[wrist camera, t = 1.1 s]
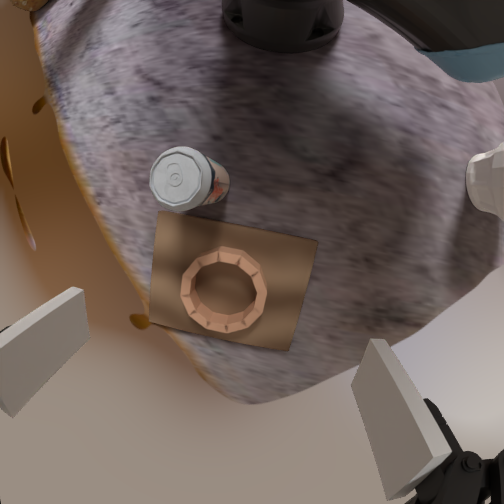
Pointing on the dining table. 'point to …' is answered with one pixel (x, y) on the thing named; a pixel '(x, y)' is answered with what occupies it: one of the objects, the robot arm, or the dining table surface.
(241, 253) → the ring
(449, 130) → the dining table surface
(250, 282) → the board
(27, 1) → the bread
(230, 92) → the dining table surface
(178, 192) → the lidded canister
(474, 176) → the cup
